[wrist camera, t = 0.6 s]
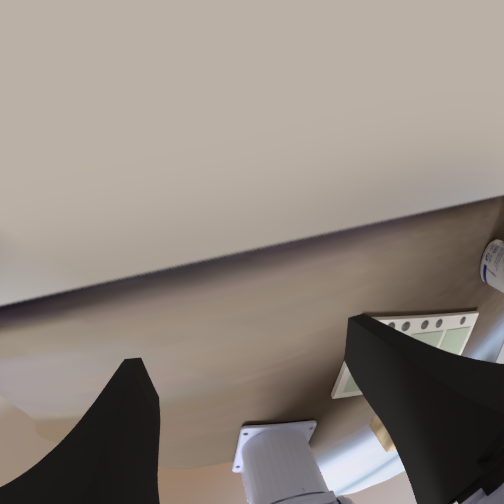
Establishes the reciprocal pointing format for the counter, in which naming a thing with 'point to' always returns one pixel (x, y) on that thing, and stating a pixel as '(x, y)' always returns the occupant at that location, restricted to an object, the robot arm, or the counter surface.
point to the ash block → (381, 434)
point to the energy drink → (493, 265)
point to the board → (421, 328)
